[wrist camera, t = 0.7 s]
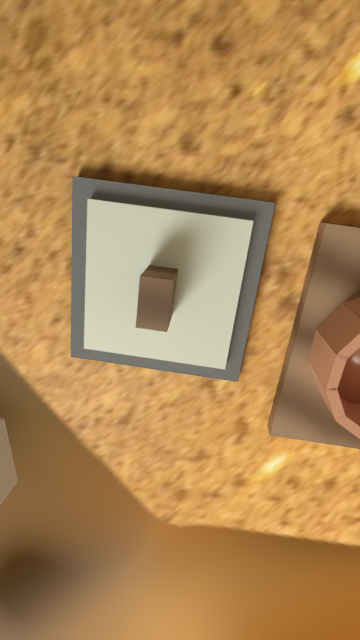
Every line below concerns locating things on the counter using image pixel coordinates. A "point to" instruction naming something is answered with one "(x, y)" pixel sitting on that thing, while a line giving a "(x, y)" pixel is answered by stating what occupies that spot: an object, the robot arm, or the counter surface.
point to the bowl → (339, 364)
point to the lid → (162, 282)
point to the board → (314, 308)
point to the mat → (183, 202)
